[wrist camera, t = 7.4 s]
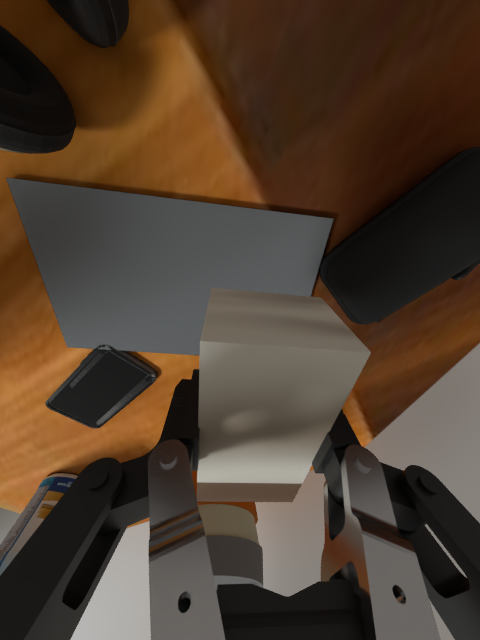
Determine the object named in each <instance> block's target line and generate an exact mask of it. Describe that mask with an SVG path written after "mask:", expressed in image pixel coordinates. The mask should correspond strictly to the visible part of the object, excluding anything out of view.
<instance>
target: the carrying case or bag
mask: <svg viewBox="0 0 480 640" xmlns="http://www.w3.org/2000/svg"><path fill="white" fill-rule="evenodd" d="M479 263H480V147H474V148H469V149H466V150H463V151H462V152H460V153H458V154H457V155H455V156H454V157H452V158H451V159H449V160H448V161H447V162H445V163H444V164H443V165H441V166H440V167H439V168H437V169H436V170H435V171H433V172H432V173H431V174H429V175H428V176H427V177H426V178H424V179H423V180H422V181H420V182H419V183H418V184H417V185H415V186H414V187H413V188H411V189H410V190H409V191H408V192H406V193H405V194H404V195H402V196H401V197H400V198H398V199H397V200H396V201H395V202H393V203H392V204H391V205H389V206H388V207H387V208H386V209H384V210H383V211H382V212H380V213H379V214H378V215H376V216H375V217H374V218H373V219H371V220H370V221H369V222H367V223H366V224H365V225H363V226H362V227H361V228H360V229H358V230H357V231H356V232H354V233H353V234H352V235H350V236H349V237H348V238H347V239H345V240H344V241H343V242H341V243H340V244H339V245H338V246H336V247H335V248H334V249H333V250H331V251H330V252H329V253H328V254H327V255H326V256H325V258H324V259H323V261H322V264H321V267H320V276H321V279H322V281H323V282H324V284H325V285H326V287H327V288H328V290H329V291H330V292H331V294H332V295H333V297H334V298H335V299H336V301H337V302H338V304H339V305H340V307H341V308H342V309H343V311H344V312H345V314H346V315H347V317H348V318H349V319H350V320H351V321H353V322H355V323H358V324H370V323H373V322H375V321H376V322H380V321H381V320H382V319H383V318H385V317H387V316H388V315H390V314H392V313H393V312H395V311H397V310H398V309H400V308H402V307H403V306H405V305H407V304H408V303H410V302H412V301H413V300H415V299H417V298H418V297H420V296H421V295H423V294H425V293H426V292H428V291H430V290H431V289H433V288H435V287H436V286H438V285H440V284H441V283H443V282H445V281H446V280H448V279H450V278H451V277H452V279H455V280H459V279H462V278H464V277H465V276H466V275H468V274H469V273H470V272H471V271H472V270H473V269H474V268H475V267H476V266H477V265H478V264H479Z"/></svg>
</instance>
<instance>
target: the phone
mask: <svg viewBox="0 0 480 640" xmlns="http://www.w3.org/2000/svg"><path fill="white" fill-rule="evenodd" d="M101 347H106V348H109V349H111V350H106V349H99V348H101ZM80 364H81V365H80V366H79V367H78V368H77V369H76V370H75V371H74V372H73V373H72V374H71V375H70V376H69V377H68V378H67V380H66V381H65V382H64V383H63V384H62V385H61V386H60V387H59V388H58V389H57V390H56V391H55V392H54V393H53V394H52V396H51V397H50V398H49V399H48V400H47V401H46V403H45V404H46V406H47V407H48V408H49V409H51V410H53V411H55V412H58V413H60V414H62V415H64V416H66V417H69V418H71V419H73V420H75V421H77V422H79V423H82V424H84V425H86V426H88V427H91V428H100V427H101V426H103V425H104V424H105V423H106V422H107V421H109V420H110V419H111V418H112V417H113V416H115V415H116V414H117V413H118V412H119V411H120V410H122V409H123V408H124V407H125V406H126V405H128V404H129V403H130V402H131V401H132V400H134V399H135V398H136V397H137V396H138V395H140V394H141V393H142V392H143V391H144V390H146V389H147V388H148V387H149V386H150V385H152V384H153V383H154V382H155V380H156V378H157V372H156V370H155V369H153V368H152V367H150V366H149V365H147V364H145V363H144V362H142V361H141V360H139V359H138V358H136V357H135V356H133V355H131V354H130V353H128V352H127V351H122V350H116V349H114V348H113V347H111V346H109V345H99V346H98V347H97V348H96V349H94V350H93V351H92V353H90V354H89V355H88V356H87V357H86V358H85V359H84V360H83V361H82V362H81V363H80Z"/></svg>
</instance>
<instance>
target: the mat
mask: <svg viewBox="0 0 480 640" xmlns="http://www.w3.org/2000/svg"><path fill="white" fill-rule="evenodd" d="M6 179H7V182H8V184H9V187H10V190H11V193H12V196H13V198H14V201H15V204H16V207H17V209H18V212H19V215H20V218H21V221H22V223H23V226H24V229H25V232H26V234H27V237H28V240H29V243H30V245H31V248H32V251H33V254H34V257H35V259H36V262H37V265H38V268H39V270H40V273H41V276H42V279H43V281H44V284H45V287H46V290H47V293H48V295H49V298H50V301H51V304H52V306H53V309H54V312H55V315H56V317H57V320H58V323H59V326H60V329H61V331H62V334H63V337H64V340H65V342H66V345H67V347H74V348H90V349H96V348H97V347H98V346H99V345H109V346H111V347H113V348H114V349H116V350H122V351H138V352H154V353H170V354H186V355H200V339H201V334H202V330H203V325H204V321H205V316H206V311H207V307H208V302H209V298H210V293H211V289H212V288H220V289H231V290H242V291H253V292H264V293H275V294H286V295H297V296H308V297H310V296H311V293H312V290H313V286H314V283H315V280H316V276H317V273H318V269H319V266H320V263H321V259H322V256H323V253H324V249H325V246H326V243H327V239H328V236H329V233H330V229H331V226H332V223H333V219H332V218H324V217H316V216H308V215H301V214H293V213H285V212H277V211H269V210H261V209H253V208H245V207H237V206H229V205H221V204H213V203H205V202H197V201H189V200H181V199H173V198H165V197H157V196H149V195H141V194H133V193H126V192H118V191H110V190H102V189H94V188H86V187H78V186H70V185H62V184H54V183H46V182H38V181H30V180H22V179H14V178H6ZM99 349H106V350H111V349H109V348H106V347H101V348H99Z"/></svg>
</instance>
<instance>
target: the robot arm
mask: <svg viewBox="0 0 480 640" xmlns="http://www.w3.org/2000/svg"><path fill="white" fill-rule="evenodd" d="M198 412H199V369H194V370H193V375H192V379H191V380H188V379H182V380H181V381H180V382H179V384H178V385H177V386H176V387H175V391H174V394H173V398H172V401H171V404H170V407H169V411H168V414H167V418H166V421H165V424H164V428H163V431H162V435H161V438H160V440H159V442H158V443H157V445H156V446H155V447H154V448H153V449H152V450H151V451H150V452H149V453H147V454H146V455H144V456H142V457H139V458H136V459H133V460H129V461H126V462H123V463H119V461H118V460H116V459H114V458H102V459H99V460H97V461H94V462H93V463H91V464H90V465H88V466H87V467H86V468H85V469H84V470H83V471H82V472H81V473H80V474H79V475H78V477H77V478H76V479H75V480H74V482H73V483H72V484H71V486H70V487H69V488H68V489H67V491H66V492H65V493H64V495H63V496H62V497H61V498H60V500H59V501H58V502H57V504H56V505H55V506H54V507H53V509H52V510H51V511H50V513H49V514H48V515H47V516H46V518H45V519H44V520H43V522H42V523H41V524H40V525H39V527H38V528H37V529H36V530H35V532H34V533H33V534H32V536H31V537H30V538H29V539H28V541H27V542H26V543H25V545H24V546H23V547H22V548H21V550H20V551H19V552H18V554H17V555H16V556H15V557H14V559H13V560H12V561H11V563H10V564H9V565H8V566H7V568H6V569H5V570H4V572H3V573H2V574H1V575H0V640H70V639H71V637H72V635H73V633H74V631H75V629H76V627H77V625H78V623H79V621H80V619H81V617H82V615H83V613H84V611H85V609H86V607H87V605H88V603H89V601H90V599H91V597H92V595H93V593H94V591H95V589H96V587H97V585H98V583H99V581H100V579H101V577H102V575H103V573H104V571H105V569H106V567H107V565H108V563H109V561H110V559H111V557H112V555H113V553H114V551H115V549H116V547H117V545H118V543H119V542H120V540H121V537H122V536H123V533H124V532H125V530H126V528H127V526H129V525H131V524H134V523H136V522H138V521H141V520H143V519H146V518H148V517H149V519H150V540H149V585H150V616H151V617H150V619H151V640H440V636H439V633H438V629H437V626H436V622H435V619H434V615H433V612H432V608H431V605H430V601H431V602H432V604H433V605H434V607H435V609H436V610H437V612H438V613H439V615H440V616H441V618H442V619H443V621H444V623H445V624H446V626H447V628H448V629H449V631H450V632H451V634H452V635H453V637H454V639H455V640H480V523H479V522H478V521H477V520H476V519H475V518H474V517H473V516H472V515H471V514H470V513H469V512H468V511H467V509H466V508H465V507H464V506H463V505H462V504H461V503H460V502H459V501H458V500H457V499H456V498H455V496H454V495H453V494H452V493H451V492H450V491H449V490H448V489H447V488H446V487H445V486H444V485H443V483H442V482H440V480H439V479H438V478H437V477H436V476H434V475H433V474H432V473H431V472H429V471H428V470H426V469H424V468H422V467H420V466H416V465H410V466H408V467H407V468H406V469H405V470H404V471H403V470H400V469H397V468H394V467H392V466H389V465H386V464H383V463H381V462H379V461H378V459H377V458H376V456H374V454H372V453H371V452H370V451H369V450H368V449H366V448H364V447H362V446H361V445H360V443H359V441H358V439H357V437H356V435H355V433H354V431H353V430H352V428H351V426H350V424H349V422H348V420H347V418H346V416H345V414H343V410H342V409H341V411H340V413H339V414H338V416H337V418H336V420H335V422H334V424H333V426H332V428H331V430H330V432H327V434H326V436H325V438H324V440H323V442H322V444H321V446H320V448H319V450H318V452H317V453H316V455H315V457H314V459H313V461H312V465H313V468H314V471H315V473H324V475H325V478H326V482H325V484H324V514H325V515H324V517H325V544H324V549H323V553H322V560H321V582H317V583H315V584H313V585H311V586H309V587H307V588H305V589H303V590H301V591H300V592H298V593H296V594H294V595H292V596H289V597H285V596H282V595H280V594H277V593H274V592H272V591H269V590H267V589H264V588H262V587H259V586H257V585H254V584H252V583H251V584H218V586H217V590H216V588H215V583H214V577H213V572H212V567H211V562H210V557H209V551H208V546H207V541H206V536H205V531H204V526H203V522H202V518H201V516H200V513H199V509H198V504H197V498H196V493H195V488H194V482H193V477H192V471H198V464H199V441H200V428H198ZM426 524H427V525H428V526H429V527H430V529H431V530H432V531H433V532H434V534H435V535H436V536H437V538H438V539H439V540H440V541H441V543H442V544H443V545H444V547H445V548H446V549H447V551H448V552H449V553H450V555H451V556H452V557H453V558H454V560H455V561H456V562H457V564H458V565H459V566H460V568H461V569H462V570H463V572H464V573H465V575H466V576H467V578H468V579H467V578H466V577H464V576H463V575H462V574H461V573H460V572H459V570H458V569H457V568H456V567H455V565H454V564H453V563H452V561H451V560H450V558H449V557H448V556H447V555H446V553H445V552H444V551H443V550H442V548H441V547H440V545H439V544H438V543H437V541H436V540H435V539H434V537H433V536H432V535H431V533H430V532H429V531H428V529H427V528H426V527H425V525H426ZM429 599H430V601H429Z"/></svg>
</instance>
